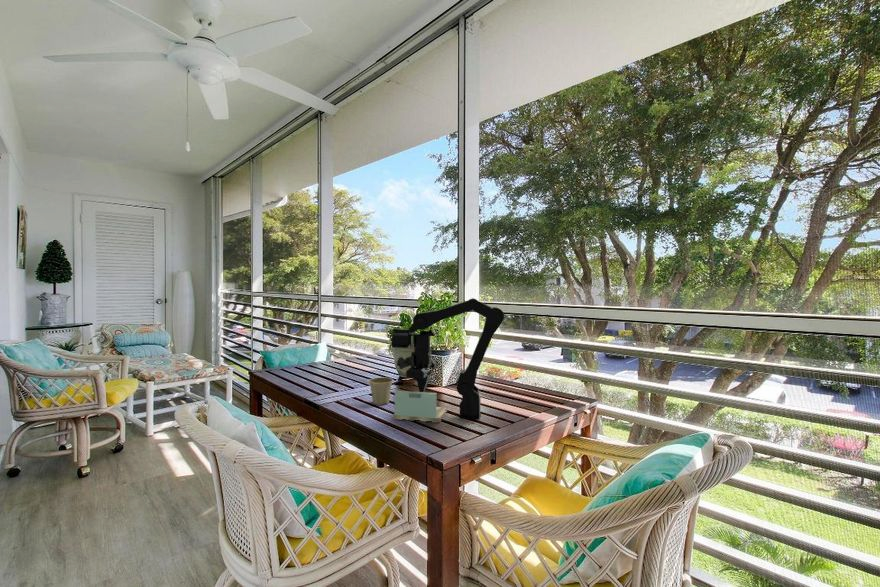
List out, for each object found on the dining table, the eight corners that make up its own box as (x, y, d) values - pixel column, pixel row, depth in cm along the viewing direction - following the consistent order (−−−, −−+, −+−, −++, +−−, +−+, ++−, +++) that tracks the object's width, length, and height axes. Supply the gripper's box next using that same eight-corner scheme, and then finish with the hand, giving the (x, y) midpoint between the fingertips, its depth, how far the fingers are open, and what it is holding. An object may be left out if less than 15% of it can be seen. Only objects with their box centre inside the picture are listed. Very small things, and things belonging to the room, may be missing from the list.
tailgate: (436, 417, 139) (436, 393, 138) (435, 418, 137) (435, 394, 137) (396, 414, 142) (396, 390, 141) (394, 415, 140) (394, 391, 140)
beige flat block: (447, 411, 150) (447, 407, 150) (439, 422, 139) (439, 418, 139) (404, 408, 154) (404, 404, 154) (393, 418, 142) (393, 414, 142)
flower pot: (369, 407, 155) (369, 383, 155) (367, 400, 165) (367, 378, 164) (395, 405, 158) (395, 382, 158) (391, 398, 167) (391, 376, 167)
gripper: (407, 343, 157) (407, 385, 158) (390, 351, 139) (390, 398, 140) (436, 345, 155) (436, 387, 155) (423, 353, 137) (423, 401, 137)
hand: (421, 393), depth 147 cm, fingers closed
